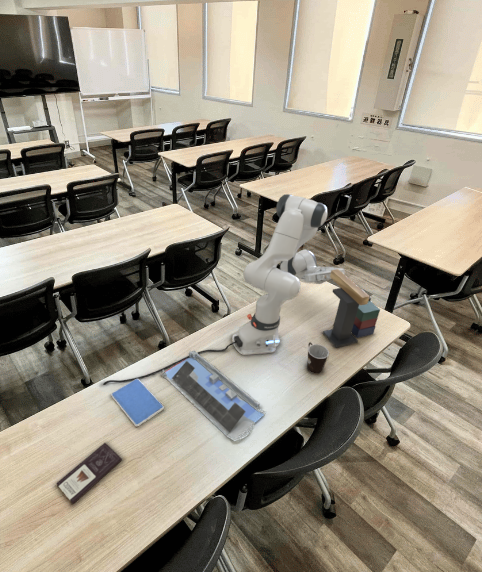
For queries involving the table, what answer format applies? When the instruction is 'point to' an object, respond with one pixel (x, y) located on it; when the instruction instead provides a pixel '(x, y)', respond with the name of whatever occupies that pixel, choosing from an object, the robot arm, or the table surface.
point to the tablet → (137, 402)
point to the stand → (343, 320)
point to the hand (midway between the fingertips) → (333, 275)
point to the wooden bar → (349, 287)
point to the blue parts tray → (215, 396)
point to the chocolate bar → (88, 473)
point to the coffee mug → (316, 357)
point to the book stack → (365, 320)
